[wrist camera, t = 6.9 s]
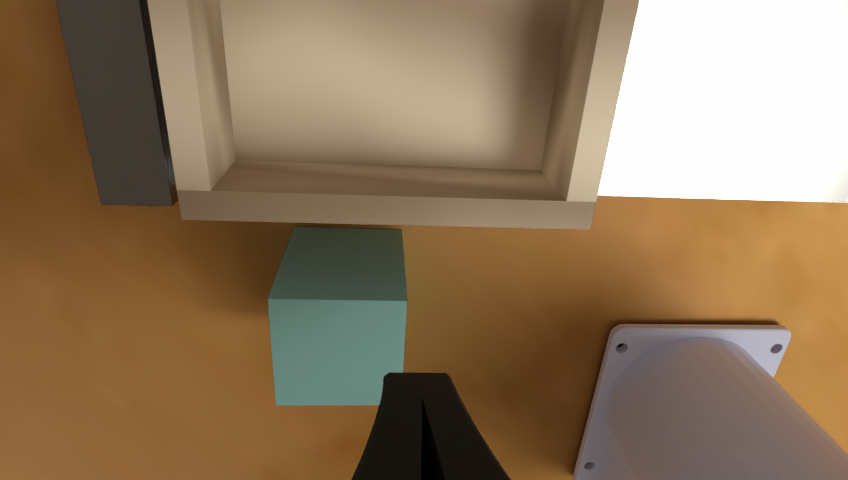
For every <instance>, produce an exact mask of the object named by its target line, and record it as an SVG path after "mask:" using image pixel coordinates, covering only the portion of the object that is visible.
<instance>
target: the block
mask: <svg viewBox="0 0 848 480" xmlns="http://www.w3.org/2000/svg"><path fill="white" fill-rule="evenodd" d="M268 311H269V323H270V336H271V349H272V362H273V374H274V387H275V400H276V406H289V405H380V401H381V396H382V390H383V377H384V376H385V375H386V374H388V373H389V372H395V373H403V366H404V348H405V330H406V313H407V292H406V279H405V266H404V253H403V239H402V230H393V229H355V228H317V227H294V228H293V230H292V233H291V236H290V239H289V241H288V244H287V247H286V250H285V252H284V255H283V258H282V261H281V263H280V266H279V269H278V272H277V275H276V277H275V280H274V283H273V286H272V288H271V291H270V294H269V297H268Z"/></svg>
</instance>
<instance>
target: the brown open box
mask: <svg viewBox="0 0 848 480" xmlns="http://www.w3.org/2000/svg"><path fill="white" fill-rule="evenodd" d="M147 1H148V8H149V14H150V21H151V27H152V34H153V40H154V46H155V53H156V59H157V66H158V72H159V79H160V85H161V92H162V98H163V104H164V111H165V117H166V124H167V130H168V137H169V143H170V150H171V156H172V163H173V169H174V175H175V182H176V188H177V195H178V201H179V208H180V214H181V220H204V221H246V222H288V223H330V224H372V225H414V226H456V227H498V228H540V229H582V230H590V229H591V224H592V219H593V215H594V210H595V205H596V201H597V196H598V192H599V187H600V182H601V178H602V173H603V168H604V164H605V159H606V154H607V150H608V145H609V141H610V136H611V131H612V127H613V122H614V117H615V113H616V108H617V103H618V99H619V94H620V90H621V85H622V80H623V76H624V71H625V66H626V62H627V57H628V52H629V48H630V43H631V39H632V34H633V29H634V25H635V20H636V15H637V11H638V6H639V1H640V0H147Z"/></svg>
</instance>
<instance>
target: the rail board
mask: <svg viewBox="0 0 848 480" xmlns="http://www.w3.org/2000/svg"><path fill="white" fill-rule="evenodd" d="M56 4H57V9H58V13H59V18H60V22H61V27H62V31H63V36H64V40H65V45H66V49H67V54H68V58H69V62H70V67H71V71H72V76H73V80H74V85H75V89H76V94H77V98H78V103H79V107H80V112H81V116H82V120H83V125H84V129H85V134H86V138H87V143H88V147H89V152H90V156H91V161H92V165H93V169H94V174H95V178H96V183H97V187H98V192H99V196H100V201H101V205H138V206H173V205H174V204H175V203H176V202H177V201H178V195H177V188H176V182H175V175H174V169H173V163H172V156H171V150H170V143H169V137H168V130H167V124H166V117H165V111H164V104H163V98H162V92H161V85H160V79H159V72H158V66H157V59H156V53H155V46H154V40H153V34H152V27H151V21H150V14H149V8H148V1H147V0H56ZM598 195H604V196H637V197H671V198H704V199H738V200H771V201H805V202H838V203H848V0H640V1H639V6H638V11H637V15H636V20H635V25H634V29H633V34H632V39H631V43H630V48H629V52H628V57H627V62H626V66H625V71H624V76H623V80H622V85H621V90H620V94H619V99H618V103H617V108H616V113H615V117H614V122H613V127H612V131H611V136H610V141H609V145H608V150H607V154H606V159H605V164H604V168H603V173H602V178H601V182H600V187H599V192H598Z"/></svg>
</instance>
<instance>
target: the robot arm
mask: <svg viewBox="0 0 848 480" xmlns="http://www.w3.org/2000/svg"><path fill="white" fill-rule="evenodd" d="M790 339H791V332H790V331H789V330H787V329H786V328H785V327H784V326H781V325H705V324H620V325H617V326H615V327H614V328H613V329H612V330H611V332H610V334H609V338H608V342H607V346H606V350H605V354H604V357H603V361H602V365H601V369H600V373H599V377H598V381H597V385H596V388H595V392H594V396H593V400H592V404H591V408H590V412H589V416H588V419H587V423H586V427H585V431H584V435H583V439H582V443H581V447H580V450H579V454H578V458H577V462H576V466H575V470H574V474H573V478H574V480H848V454H847V453H846V452H845V451H844V450H843V449H842V447H841V446H840V445H839V444H838V443H837V442H836V441H835V440H834V439H833V438H832V437H831V436H830V435H829V434H828V433H827V432H826V431H825V430H824V429H823V428H822V427H821V426H820V425H819V424H818V423H817V422H816V421H815V420H814V419H813V418H812V417H811V416H810V415H809V414H808V413H807V412H806V411H805V410H804V409H803V408H802V407H801V406H800V405H799V404H798V403H797V402H796V401H795V400H794V399H793V398H792V397H791V396H790V395H789V394H788V393H787V392H786V391H785V390H784V389H783V388H782V387H781V385H780V384H779V383H778V382H777V381H776V380H775V379H774V378H773V377H774V375H775V373H776V371H777V368H778V366H779V364H780V362H781V359H782V357H783V355H784V353H785V350H786V348H787V346H788V344H789V341H790ZM621 343H623V345H622V346H620V347H617V345H619V344H621ZM772 346H773V347H772ZM616 347H617V348H616ZM352 480H511V479H510V478H509V476H508V475H507V474H506V472H505V471H504V469H503V468H502V466H501V465H500V464H499V462H498V461H497V459H496V458H495V456H494V455H493V453H492V451H491V450H490V448H489V447H488V445H487V443H486V442H485V440H484V439H483V437H482V436H481V434H480V432H479V431H478V429H477V427H476V426H475V424H474V422H473V421H472V419H471V417H470V415H469V413H468V412H467V410H466V408H465V406H464V404H463V402H462V400H461V399H460V397H459V395H458V393H457V391H456V388H455V386H454V384H453V382H452V380H451V378H450V377H449V376H448V375H447V374H446V373H395V372H389V373H388V374H386V375H385V376H384V377H383V390H382V396H381V401H380V405H379V408H378V412H377V415H376V419H375V422H374V425H373V428H372V431H371V433H370V436H369V439H368V442H367V445H366V447H365V450H364V452H363V455H362V457H361V460H360V462H359V464H358V466H357V469H356V471H355V473H354V475H353V478H352Z"/></svg>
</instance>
